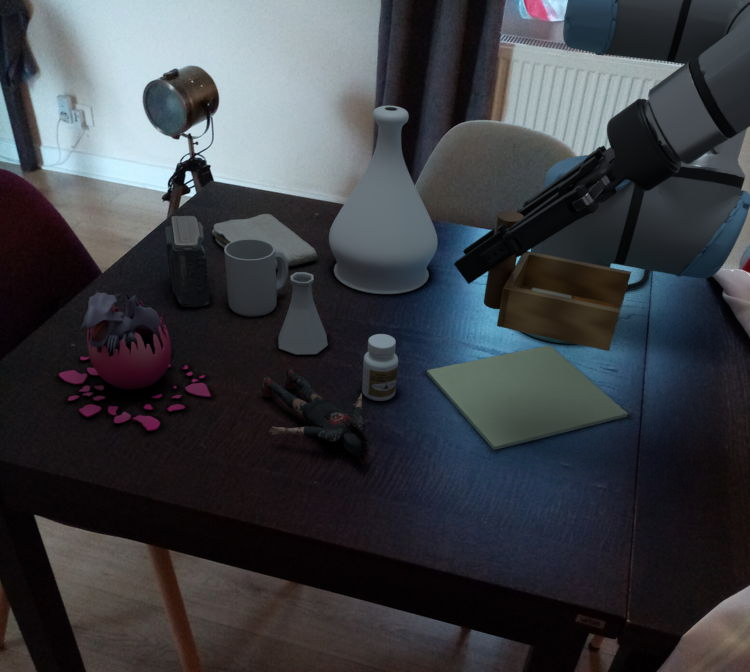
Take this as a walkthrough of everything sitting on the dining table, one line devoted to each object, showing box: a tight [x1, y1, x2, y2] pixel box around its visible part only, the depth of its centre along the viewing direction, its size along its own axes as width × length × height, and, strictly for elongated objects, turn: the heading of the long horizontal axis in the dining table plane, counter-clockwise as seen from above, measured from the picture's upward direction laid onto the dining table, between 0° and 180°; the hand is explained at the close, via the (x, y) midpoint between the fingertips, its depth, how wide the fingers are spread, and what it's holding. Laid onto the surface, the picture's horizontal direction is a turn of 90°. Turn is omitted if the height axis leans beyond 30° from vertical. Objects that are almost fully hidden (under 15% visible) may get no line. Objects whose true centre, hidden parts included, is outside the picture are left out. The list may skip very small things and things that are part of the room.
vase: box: [328, 105, 439, 295], centre depth 120 cm, size 17×17×25 cm
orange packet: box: [573, 297, 614, 307], centre depth 84 cm, size 4×3×1 cm
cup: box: [223, 239, 289, 318], centre depth 116 cm, size 7×10×9 cm
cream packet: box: [532, 288, 572, 298], centre depth 86 cm, size 4×3×1 cm
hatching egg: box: [58, 290, 212, 432], centre depth 96 cm, size 20×16×14 cm
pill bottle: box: [361, 333, 399, 402], centre depth 100 cm, size 4×4×8 cm
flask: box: [277, 271, 329, 355], centre depth 107 cm, size 7×7×10 cm
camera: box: [163, 215, 210, 309], centre depth 117 cm, size 11×6×10 cm, turn 12°
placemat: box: [426, 344, 629, 451], centre depth 103 cm, size 20×18×1 cm
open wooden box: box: [483, 210, 632, 352], centre depth 83 cm, size 15×10×10 cm
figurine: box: [261, 367, 373, 467], centre depth 94 cm, size 13×6×20 cm
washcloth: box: [211, 213, 318, 270], centre depth 132 cm, size 12×18×3 cm, turn 35°
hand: (466, 266), depth 86 cm, fingers closed on open wooden box, 3 cm apart
